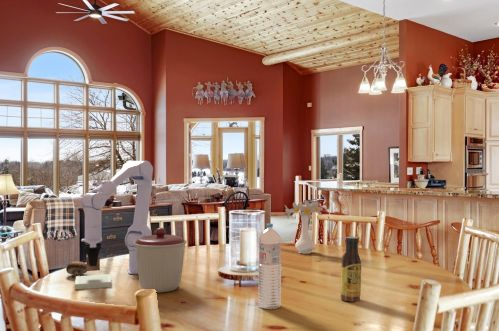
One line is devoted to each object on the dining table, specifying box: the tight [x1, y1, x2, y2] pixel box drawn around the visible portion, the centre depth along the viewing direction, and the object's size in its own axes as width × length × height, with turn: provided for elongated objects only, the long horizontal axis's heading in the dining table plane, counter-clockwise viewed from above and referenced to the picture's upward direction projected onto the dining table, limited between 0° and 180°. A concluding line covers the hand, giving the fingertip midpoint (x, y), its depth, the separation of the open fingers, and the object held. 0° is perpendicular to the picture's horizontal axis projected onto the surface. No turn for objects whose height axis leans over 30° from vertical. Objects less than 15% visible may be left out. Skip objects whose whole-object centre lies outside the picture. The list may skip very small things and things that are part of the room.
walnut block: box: [85, 253, 101, 272], centre depth 172 cm, size 4×4×5 cm
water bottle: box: [257, 223, 282, 310], centre depth 146 cm, size 7×7×25 cm
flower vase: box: [284, 200, 324, 255], centre depth 232 cm, size 13×18×25 cm
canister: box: [133, 227, 188, 294], centre depth 166 cm, size 18×18×21 cm
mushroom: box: [65, 260, 88, 277], centre depth 185 cm, size 8×8×6 cm
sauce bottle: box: [340, 236, 362, 303], centre depth 153 cm, size 7×6×20 cm
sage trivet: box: [74, 273, 112, 290], centre depth 172 cm, size 12×12×2 cm
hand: (93, 264), depth 172 cm, fingers closed on walnut block, 4 cm apart
